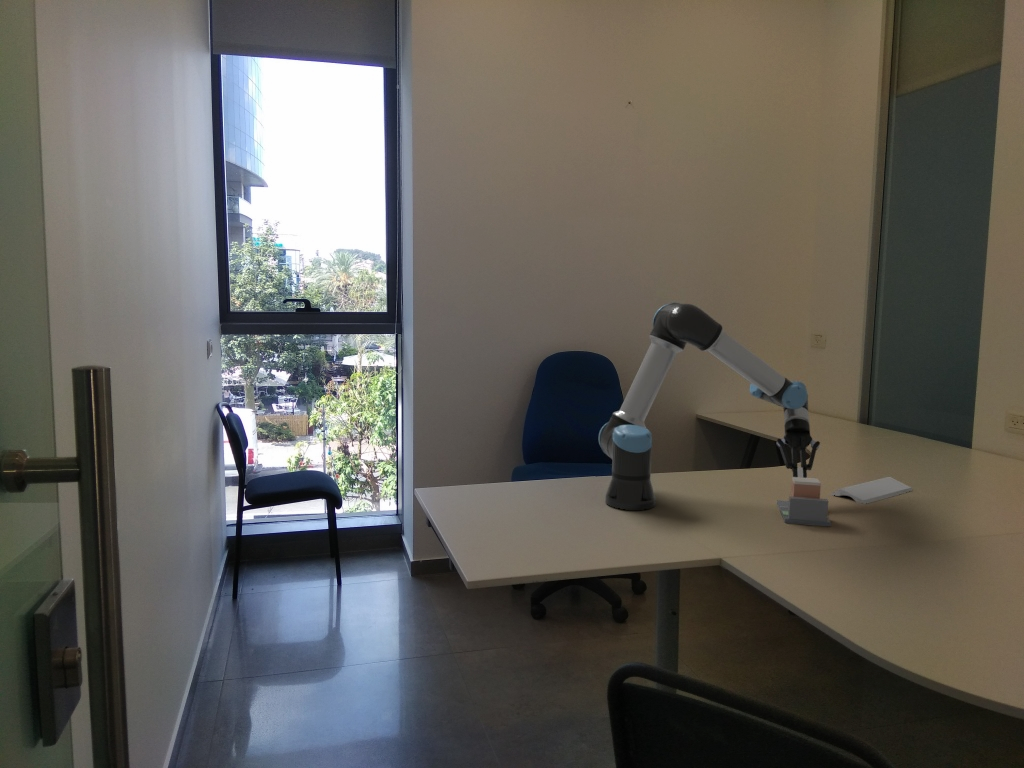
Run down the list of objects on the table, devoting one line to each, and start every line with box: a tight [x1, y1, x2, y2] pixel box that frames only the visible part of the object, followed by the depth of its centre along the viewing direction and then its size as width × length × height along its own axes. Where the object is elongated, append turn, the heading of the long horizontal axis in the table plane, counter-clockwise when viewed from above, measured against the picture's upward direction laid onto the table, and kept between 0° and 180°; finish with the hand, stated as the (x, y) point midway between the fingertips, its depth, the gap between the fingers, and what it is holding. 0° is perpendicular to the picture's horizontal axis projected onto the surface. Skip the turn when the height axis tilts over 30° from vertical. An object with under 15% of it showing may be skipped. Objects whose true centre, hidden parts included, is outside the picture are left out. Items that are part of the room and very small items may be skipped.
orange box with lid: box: [790, 476, 822, 499], centre depth 208 cm, size 7×5×10 cm
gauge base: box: [776, 495, 832, 528], centre depth 211 cm, size 12×19×7 cm, turn 166°
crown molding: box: [829, 476, 914, 505], centre depth 237 cm, size 29×12×4 cm, turn 124°
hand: (800, 487), depth 218 cm, fingers closed
